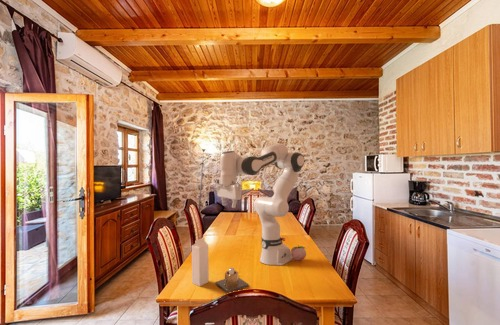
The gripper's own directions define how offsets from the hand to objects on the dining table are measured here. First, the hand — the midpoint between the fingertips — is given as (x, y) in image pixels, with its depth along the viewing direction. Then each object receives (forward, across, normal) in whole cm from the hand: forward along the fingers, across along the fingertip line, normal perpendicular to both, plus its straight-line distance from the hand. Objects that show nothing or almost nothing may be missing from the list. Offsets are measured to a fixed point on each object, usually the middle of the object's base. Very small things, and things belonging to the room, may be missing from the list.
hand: (229, 206), depth 136 cm
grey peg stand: (+37, -10, +5) cm, 39 cm away
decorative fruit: (+37, -9, -43) cm, 58 cm away
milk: (+37, +2, +16) cm, 41 cm away
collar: (+36, -10, +5) cm, 38 cm away
